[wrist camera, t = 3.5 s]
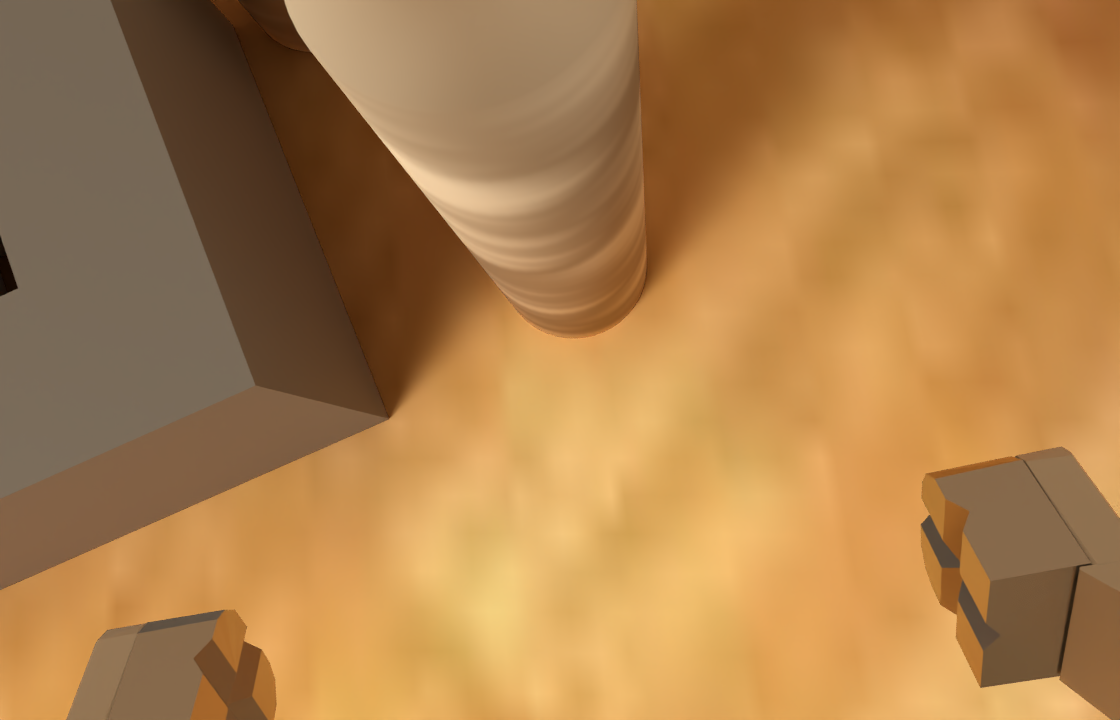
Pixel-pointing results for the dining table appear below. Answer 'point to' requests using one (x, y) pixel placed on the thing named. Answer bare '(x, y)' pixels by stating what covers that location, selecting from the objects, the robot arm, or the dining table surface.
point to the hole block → (151, 279)
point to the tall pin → (510, 136)
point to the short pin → (275, 22)
